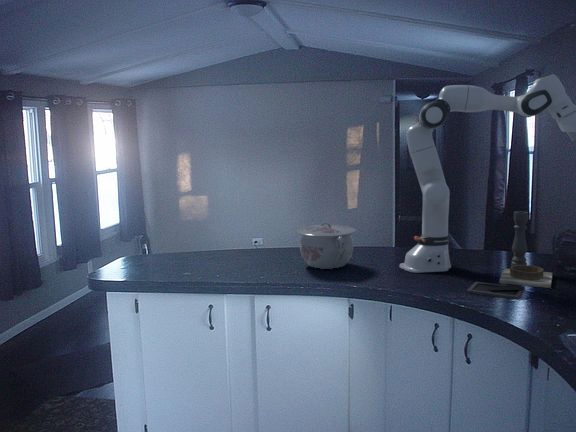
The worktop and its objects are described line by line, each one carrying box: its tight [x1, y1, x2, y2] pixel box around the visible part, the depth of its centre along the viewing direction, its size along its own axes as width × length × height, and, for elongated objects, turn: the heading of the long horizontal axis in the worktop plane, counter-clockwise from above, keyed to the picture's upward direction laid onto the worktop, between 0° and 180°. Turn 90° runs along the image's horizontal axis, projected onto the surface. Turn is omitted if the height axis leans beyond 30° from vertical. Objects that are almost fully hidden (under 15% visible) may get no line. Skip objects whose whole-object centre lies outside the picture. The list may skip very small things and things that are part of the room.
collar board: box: [499, 264, 553, 289], centre depth 213 cm, size 18×18×4 cm
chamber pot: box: [295, 221, 358, 270], centre depth 242 cm, size 28×28×21 cm
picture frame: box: [466, 281, 526, 301], centre depth 199 cm, size 13×2×18 cm
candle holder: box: [510, 210, 529, 267], centre depth 225 cm, size 6×6×25 cm
